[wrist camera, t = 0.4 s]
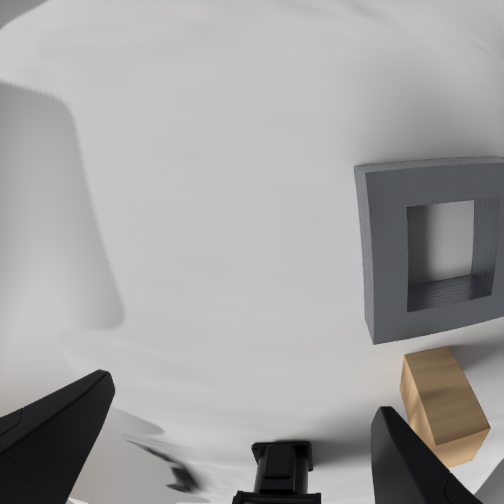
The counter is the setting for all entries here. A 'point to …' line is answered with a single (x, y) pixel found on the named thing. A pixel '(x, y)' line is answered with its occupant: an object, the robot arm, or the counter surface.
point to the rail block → (396, 245)
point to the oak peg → (442, 406)
